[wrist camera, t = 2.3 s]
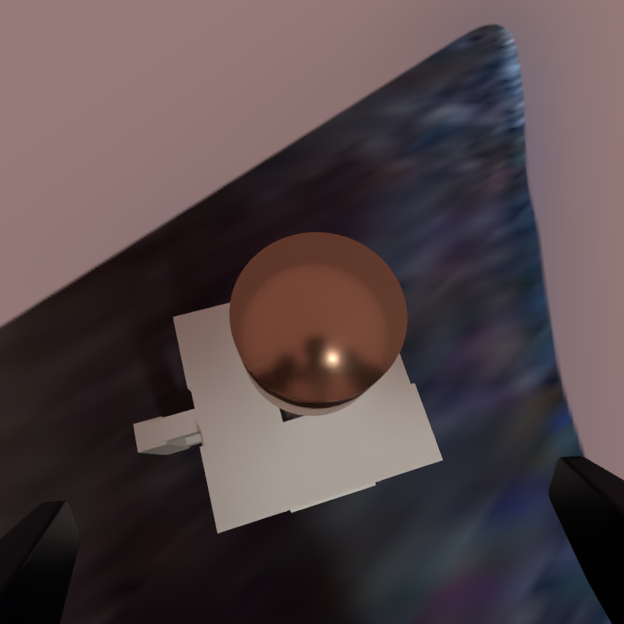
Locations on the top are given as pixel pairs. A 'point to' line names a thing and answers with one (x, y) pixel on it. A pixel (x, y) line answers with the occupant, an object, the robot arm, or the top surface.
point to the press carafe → (282, 432)
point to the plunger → (316, 322)
